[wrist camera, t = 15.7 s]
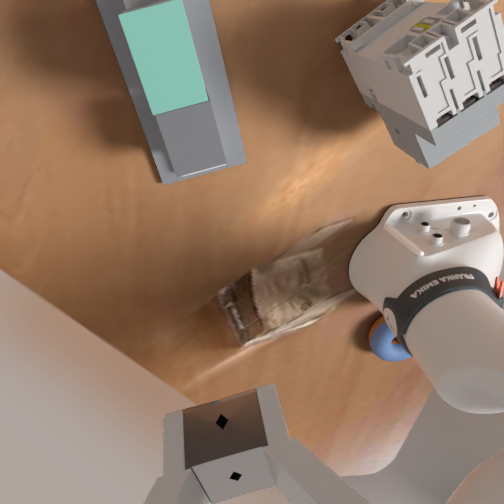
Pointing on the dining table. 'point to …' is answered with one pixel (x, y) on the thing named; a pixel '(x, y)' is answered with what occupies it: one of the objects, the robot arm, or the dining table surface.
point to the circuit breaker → (430, 72)
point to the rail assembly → (187, 118)
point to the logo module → (164, 54)
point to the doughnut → (385, 342)
